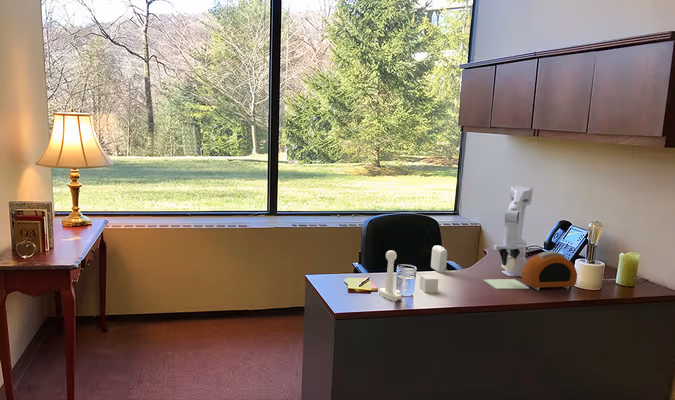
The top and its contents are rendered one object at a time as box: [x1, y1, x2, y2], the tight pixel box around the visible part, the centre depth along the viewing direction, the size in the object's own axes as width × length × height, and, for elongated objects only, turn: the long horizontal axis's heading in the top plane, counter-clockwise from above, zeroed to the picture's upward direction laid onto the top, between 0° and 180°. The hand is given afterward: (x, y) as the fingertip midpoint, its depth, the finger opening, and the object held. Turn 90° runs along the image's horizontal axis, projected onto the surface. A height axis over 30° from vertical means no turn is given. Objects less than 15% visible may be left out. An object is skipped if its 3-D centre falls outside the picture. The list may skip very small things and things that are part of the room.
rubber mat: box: [483, 278, 530, 290], centre depth 241 cm, size 16×13×1 cm
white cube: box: [419, 274, 439, 293], centre depth 228 cm, size 6×6×6 cm
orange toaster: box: [521, 250, 578, 291], centre depth 240 cm, size 23×9×17 cm, turn 103°
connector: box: [500, 255, 517, 271], centre depth 239 cm, size 3×11×6 cm, turn 10°
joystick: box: [378, 250, 402, 302], centre depth 216 cm, size 11×8×20 cm
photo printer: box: [430, 245, 448, 274], centre depth 259 cm, size 10×4×12 cm, turn 17°
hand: (507, 265), depth 240 cm, fingers closed on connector, 3 cm apart
